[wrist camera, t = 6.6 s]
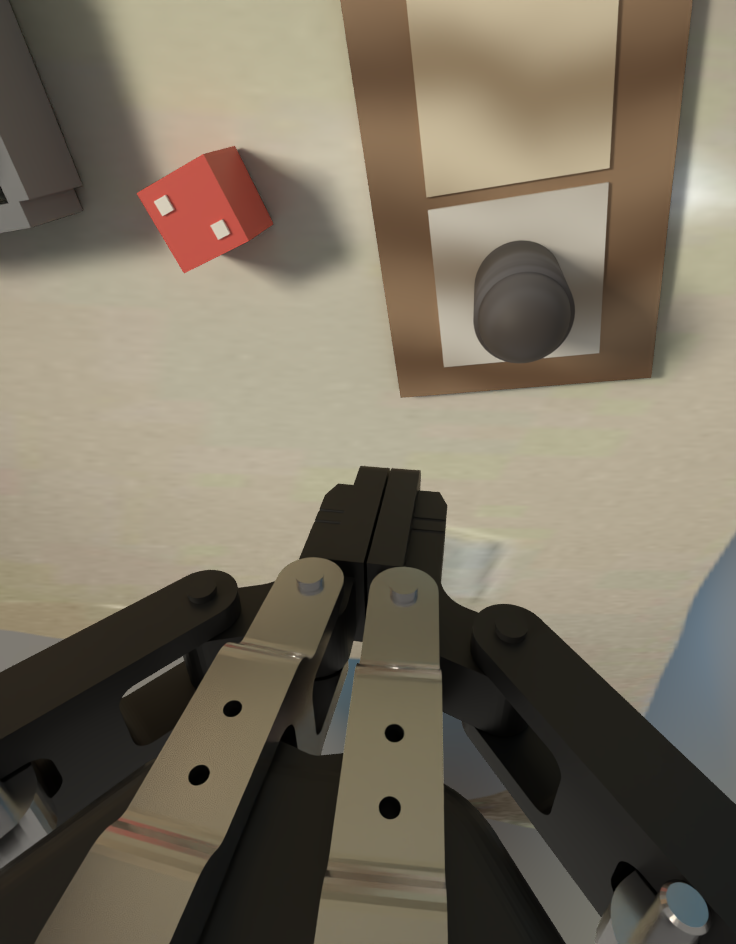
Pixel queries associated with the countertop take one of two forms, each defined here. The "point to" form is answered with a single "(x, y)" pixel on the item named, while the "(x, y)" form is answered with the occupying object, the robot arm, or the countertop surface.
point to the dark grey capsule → (521, 303)
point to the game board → (519, 171)
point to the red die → (206, 208)
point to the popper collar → (29, 140)
